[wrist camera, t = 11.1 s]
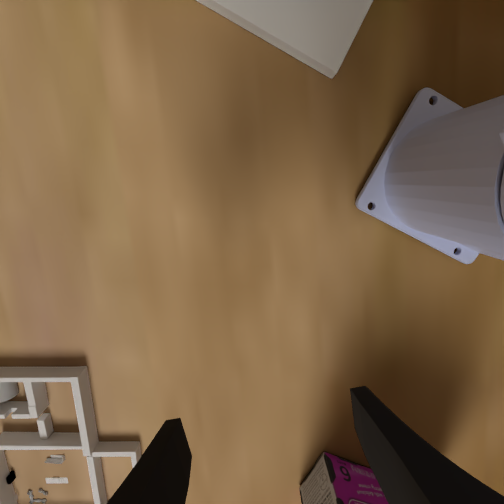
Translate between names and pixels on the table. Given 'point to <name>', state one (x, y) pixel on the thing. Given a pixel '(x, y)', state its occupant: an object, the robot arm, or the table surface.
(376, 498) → the candy bar box
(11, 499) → the floor plan model
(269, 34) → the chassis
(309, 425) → the table surface
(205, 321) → the table surface
